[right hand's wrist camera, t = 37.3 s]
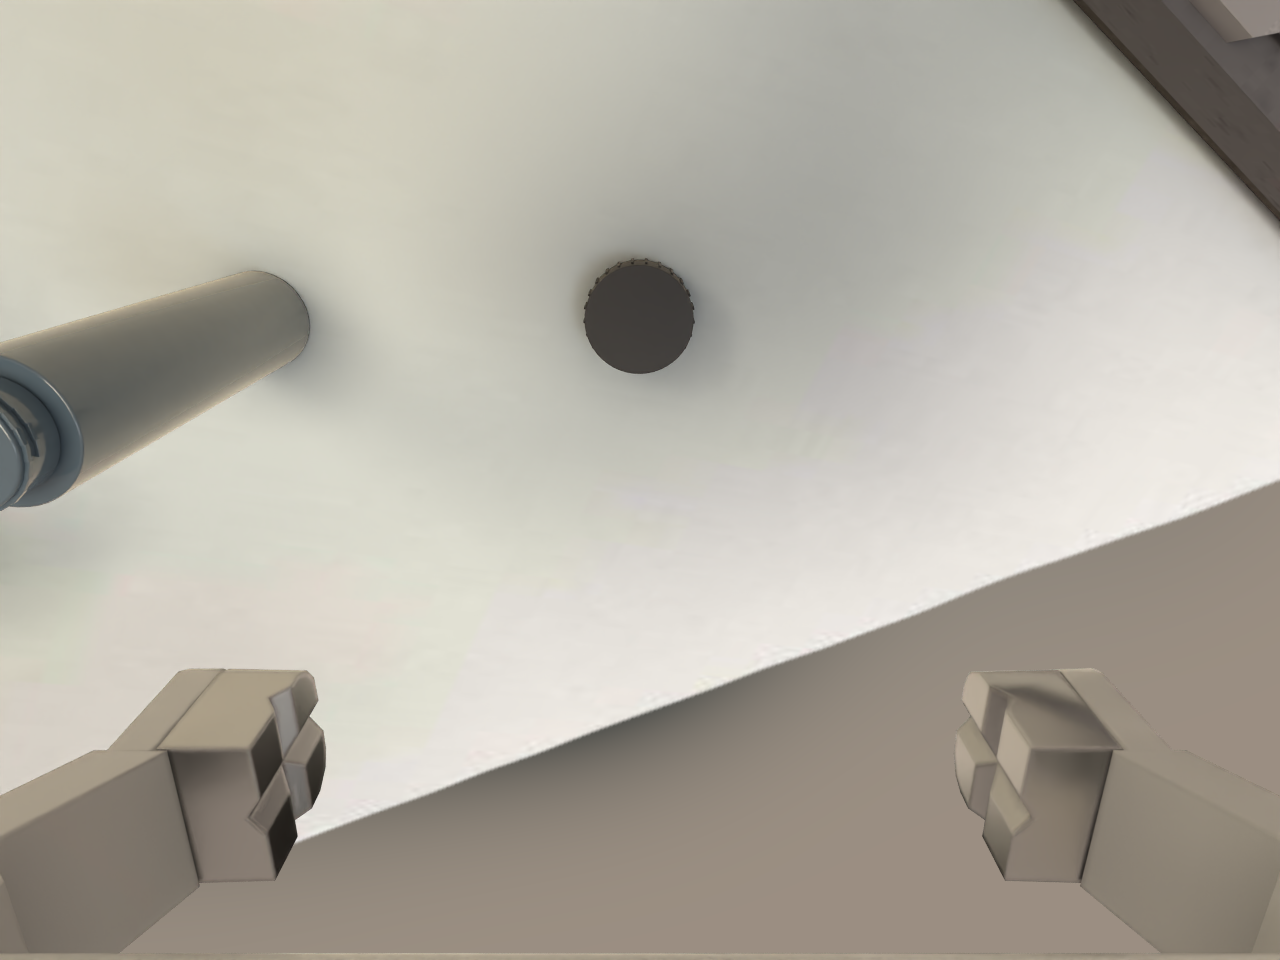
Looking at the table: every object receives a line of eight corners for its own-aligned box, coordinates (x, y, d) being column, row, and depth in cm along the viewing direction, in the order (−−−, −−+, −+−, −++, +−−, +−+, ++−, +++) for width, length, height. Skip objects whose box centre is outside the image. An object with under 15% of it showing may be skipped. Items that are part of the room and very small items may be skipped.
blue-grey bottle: (269, 386, 39) (-19, 564, 22) (192, 317, 38) (-174, 449, 21) (329, 322, 38) (76, 458, 21) (252, 249, 37) (-82, 330, 20)
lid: (641, 386, 39) (641, 397, 37) (563, 314, 38) (559, 322, 36) (714, 311, 38) (718, 318, 36) (636, 234, 37) (636, 238, 35)
